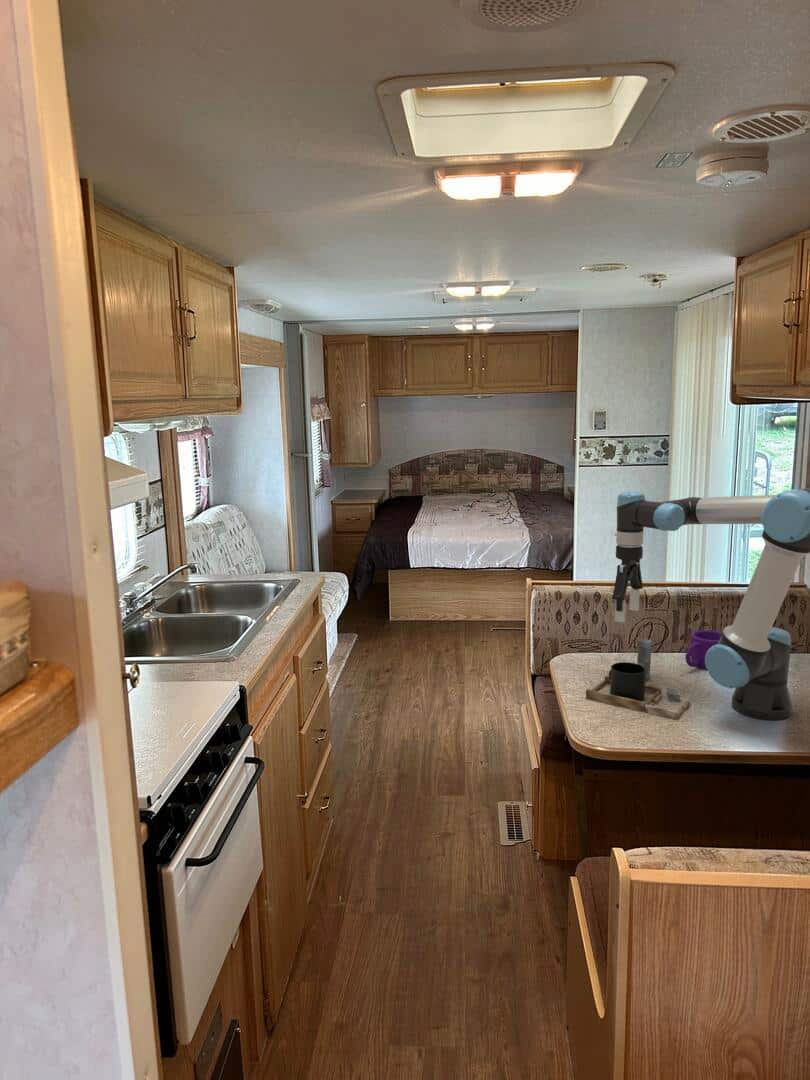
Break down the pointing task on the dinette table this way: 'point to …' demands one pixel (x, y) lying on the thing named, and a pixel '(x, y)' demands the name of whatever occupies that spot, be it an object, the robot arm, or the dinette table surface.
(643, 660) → the wooden frame with post
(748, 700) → the robot arm
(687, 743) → the dinette table surface
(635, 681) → the mug
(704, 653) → the mug
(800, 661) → the dinette table surface
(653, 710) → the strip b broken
